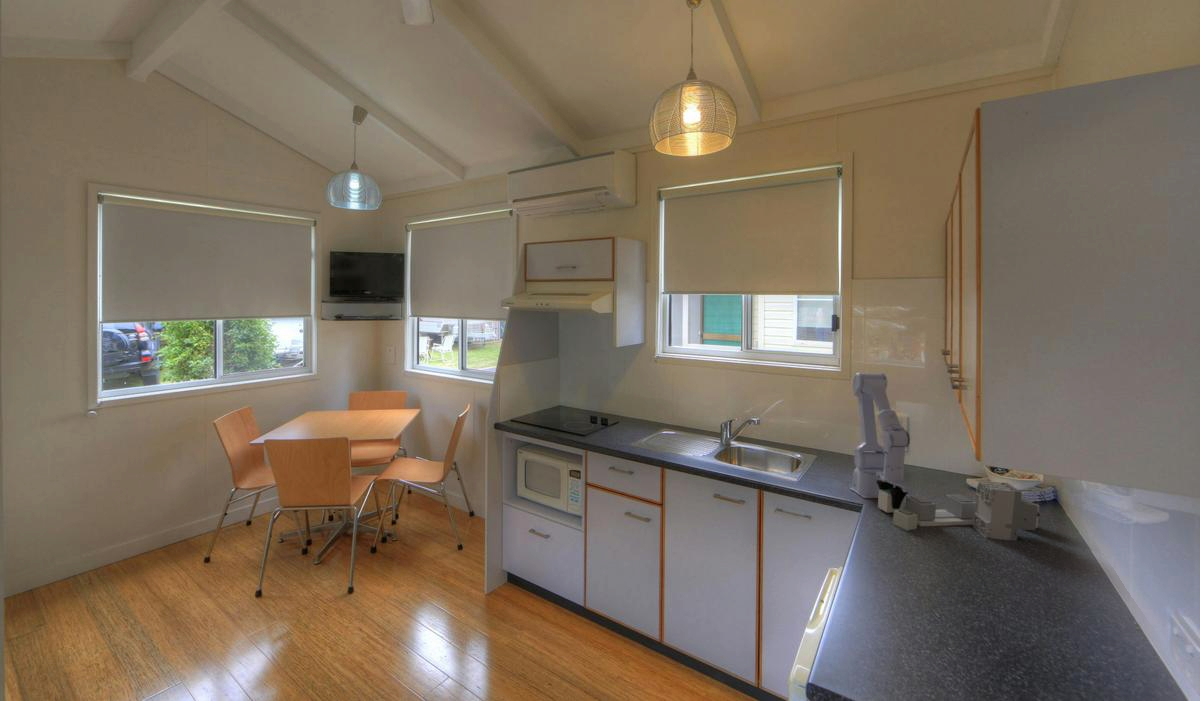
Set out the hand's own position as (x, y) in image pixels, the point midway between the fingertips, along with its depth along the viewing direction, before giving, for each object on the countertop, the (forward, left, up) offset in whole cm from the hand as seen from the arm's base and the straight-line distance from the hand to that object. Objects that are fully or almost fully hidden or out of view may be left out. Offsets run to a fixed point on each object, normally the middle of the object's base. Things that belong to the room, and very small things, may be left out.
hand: (890, 505), depth 174 cm
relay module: (0, 0, -2) cm, 2 cm away
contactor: (+11, -3, -2) cm, 12 cm away
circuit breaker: (+19, +24, -2) cm, 31 cm away
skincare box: (+13, +35, -2) cm, 37 cm away
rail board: (+7, +12, -2) cm, 14 cm away
